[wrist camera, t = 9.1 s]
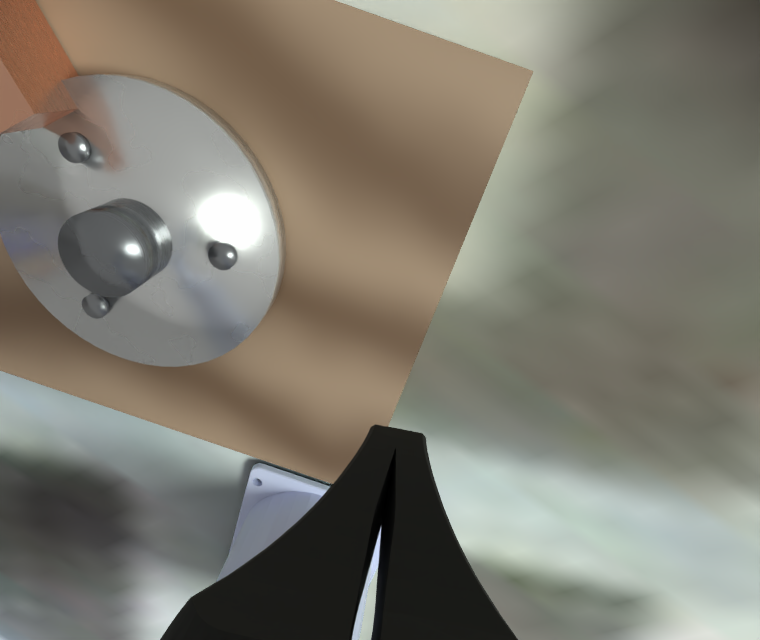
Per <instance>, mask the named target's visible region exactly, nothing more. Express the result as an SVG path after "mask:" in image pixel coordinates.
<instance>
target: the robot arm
mask: <svg viewBox="0 0 760 640" xmlns="http://www.w3.org/2000/svg"><path fill="white" fill-rule="evenodd" d="M257 479H260V480H261V481H259V480H257ZM377 568H378V577H377V591H376V604H375V615H374V624H373V632H372V638H371V640H518V639H517V638H516V636H515V635H514V633H513V632H512V631H511V629H510V628H509V626H508V625H507V624H506V622H505V621H504V619H503V618H502V617H501V615H500V614H499V612H498V610H497V609H496V607H495V606H494V604H493V602H492V601H491V599H490V598H489V596H488V595H487V593H486V591H485V590H484V588H483V587H482V585H481V583H480V582H479V580H478V578H477V577H476V575H475V573H474V571H473V569H472V568H471V566H470V564H469V562H468V560H467V558H466V556H465V554H464V552H463V550H462V548H461V546H460V544H459V542H458V540H457V538H456V536H455V534H454V531H453V529H452V527H451V524H450V522H449V519H448V517H447V515H446V512H445V509H444V507H443V504H442V501H441V498H440V495H439V492H438V489H437V486H436V483H435V480H434V477H433V473H432V469H431V465H430V461H429V457H428V452H427V445H426V438H425V436H424V435H423V434H422V433H418V432H412V431H407V430H402V429H397V428H392V427H387V426H381V425H376V424H375V425H373V426H372V427H370V430H369V432H368V434H367V436H366V438H365V440H364V442H363V443H362V445H361V447H360V448H359V450H358V451H357V453H356V454H355V456H354V457H353V459H352V460H351V461H350V463H349V464H348V465H347V467H346V468H345V469H344V471H343V472H342V474H341V475H340V476H339V477H338V479H337V480H336V481H335V482H334V483H333V484H332V486H331V487H330V486H327V485H324V484H321V483H318V482H315V481H312V480H309V479H306V478H303V477H301V476H298V475H295V474H292V473H289V472H286V471H283V470H280V469H277V468H274V467H271V466H268V465H265V464H261V463H258V464H255V465H254V466H253V467H252V469H251V471H250V474H249V478H248V482H247V486H246V490H245V494H244V497H243V501H242V505H241V509H240V513H239V517H238V520H237V524H236V528H235V532H234V536H233V540H232V543H231V547H230V551H229V555H228V557H227V559H226V561H225V564H224V566H223V568H222V570H221V572H220V574H219V576H218V578H217V581H216V583H214V584H212V585H211V586H209V587H208V588H206V589H204V590H203V591H201V592H199V593H198V594H196V595H194V596H192V597H191V598H190V599H189V600H188V602H187V603H186V604H185V605H184V607H183V608H182V609H181V610H180V612H179V613H178V614H177V616H176V617H175V619H174V620H173V621H172V623H171V624H170V626H169V627H168V629H167V630H166V632H165V633H164V635H163V636H162V638H161V639H160V640H359V638H360V632H361V627H362V621H363V615H364V609H365V604H366V598H367V592H368V587H369V584H370V582H371V580H372V578H373V576H374V574H375V572H376V570H377Z"/></svg>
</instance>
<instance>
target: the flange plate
mask: <svg viewBox="0 0 760 640" xmlns="http://www.w3.org/2000/svg"><path fill="white" fill-rule="evenodd" d="M0 134H1V136H0V235H1V238H2V240H3V243H4V245H5V248H6V250H7V252H8V254H9V256H10V258H11V260H12V262H13V264H14V266H15V268H16V270H17V271H18V273H19V274H20V276H21V277H22V279H23V280H24V282H25V284H26V285H27V286H28V288H29V289H30V290H31V291H32V293H33V294H34V295H35V297H36V298H37V299H38V300H39V301H40V302H41V303H42V304H43V306H44V307H45V308H46V309H47V310H48V311H49V312H50V313H51V314H52V315H53V316H54V317H56V318H57V319H58V320H59V321H60V322H61V323H62V324H63V325H65V326H66V327H67V328H68V329H70V330H71V331H73V332H74V333H75V334H77V335H78V336H79V337H81V338H82V339H84V340H86V341H88V342H89V343H91V344H93V345H94V346H96V347H98V348H100V349H102V350H104V351H106V352H108V353H110V354H113V355H115V356H118V357H121V358H124V359H127V360H130V361H134V362H138V363H142V364H147V365H154V366H163V367H179V366H188V365H195V364H199V363H203V362H207V361H210V360H212V359H215V358H217V357H220V356H222V355H224V354H225V353H227V352H229V351H230V350H232V349H234V348H235V347H237V346H238V345H239V344H240V343H241V342H243V341H244V340H245V339H246V338H247V337H248V336H249V335H250V334H251V333H252V331H253V330H254V329H255V328H256V327H257V326H258V324H259V323H260V322H261V320H262V319H263V318H264V317H265V315H266V314H267V312H268V310H269V309H270V307H271V306H272V304H273V302H274V300H275V298H276V296H277V293H278V291H279V289H280V285H281V281H282V278H283V274H284V268H285V259H286V236H285V229H284V222H283V217H282V213H281V209H280V206H279V202H278V199H277V196H276V194H275V191H274V189H273V187H272V184H271V182H270V179H269V177H268V176H267V174H266V172H265V170H264V168H263V167H262V165H261V163H260V161H259V160H258V158H257V157H256V155H255V154H254V153H253V151H252V150H251V148H250V147H249V146H248V144H247V143H246V142H245V140H244V139H243V138H242V137H241V136H240V135H239V134H238V133H237V132H236V130H235V129H234V128H233V127H232V126H231V125H230V124H229V123H228V122H226V121H225V120H224V119H223V118H222V117H221V116H220V115H219V114H217V113H216V112H215V111H214V110H213V109H211V108H210V107H208V106H207V105H205V104H204V103H202V102H201V101H200V100H198V99H197V98H195V97H193V96H191V95H189V94H188V93H186V92H184V91H182V90H180V89H178V88H176V87H173V86H171V85H168V84H165V83H163V82H160V81H157V80H154V79H149V78H145V77H140V76H136V75H123V74H97V75H85V76H79V75H78V74H77V72H76V70H75V68H74V67H73V65H72V63H71V61H70V60H69V58H68V56H67V55H66V53H65V51H64V49H63V48H62V46H61V44H60V42H59V41H58V39H57V37H56V35H55V34H54V32H53V30H52V29H51V27H50V25H49V23H48V22H47V20H46V18H45V16H44V15H43V13H42V11H41V10H40V8H39V6H38V4H37V3H36V1H35V0H0Z"/></svg>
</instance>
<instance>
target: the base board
mask: <svg viewBox="0 0 760 640" xmlns="http://www.w3.org/2000/svg"><path fill="white" fill-rule="evenodd" d="M35 1H36V3H37V4H38V6H39V8H40V10H41V11H42V13H43V15H44V16H45V18H46V20H47V22H48V23H49V25H50V27H51V29H52V30H53V32H54V34H55V35H56V37H57V39H58V41H59V42H60V44H61V46H62V48H63V49H64V51H65V53H66V55H67V56H68V58H69V60H70V61H71V63H72V65H73V67H74V68H75V70H76V72H77V74H78V75H79V76H85V75H97V74H123V75H136V76H140V77H145V78H149V79H154V80H157V81H160V82H163V83H165V84H168V85H171V86H173V87H176V88H178V89H180V90H182V91H184V92H186V93H188V94H189V95H191V96H193V97H195V98H197V99H198V100H200V101H201V102H202V103H204V104H205V105H207V106H208V107H210V108H211V109H213V110H214V111H215V112H216V113H217V114H219V115H220V116H221V117H222V118H223V119H224V120H225V121H226V122H228V123H229V124H230V125H231V126H232V127H233V128H234V129H235V130H236V132H237V133H238V134H239V135H240V136H241V137H242V138H243V139H244V140H245V142H246V143H247V144H248V146H249V147H250V148H251V150H252V151H253V153H254V154H255V155H256V157H257V158H258V160H259V161H260V163H261V165H262V167H263V168H264V170H265V172H266V174H267V176H268V177H269V179H270V182H271V184H272V187H273V189H274V191H275V194H276V196H277V199H278V202H279V206H280V209H281V213H282V217H283V222H284V229H285V236H286V259H285V268H284V274H283V278H282V281H281V285H280V289H279V291H278V293H277V296H276V298H275V300H274V302H273V304H272V306H271V307H270V309H269V310H268V312H267V314H266V315H265V317H264V318H263V319H262V320H261V322H260V323H259V324H258V326H257V327H256V328H255V329H254V330H253V331H252V333H251V334H250V335H249V336H248V337H247V338H246V339H245V340H244V341H243V342H241V343H240V344H239V345H238V346H237V347H235V348H234V349H232V350H230V351H229V352H227V353H225V354H224V355H222V356H220V357H217V358H215V359H212V360H210V361H207V362H203V363H199V364H195V365H188V366H179V367H163V366H154V365H147V364H142V363H138V362H134V361H130V360H127V359H124V358H121V357H118V356H115V355H113V354H110V353H108V352H106V351H104V350H102V349H100V348H98V347H96V346H94V345H93V344H91V343H89V342H88V341H86V340H84V339H82V338H81V337H79V336H78V335H77V334H75V333H74V332H73V331H71V330H70V329H68V328H67V327H66V326H65V325H63V324H62V323H61V322H60V321H59V320H58V319H57V318H56V317H54V316H53V315H52V314H51V313H50V312H49V311H48V310H47V309H46V308H45V307H44V306H43V304H42V303H41V302H40V301H39V300H38V299H37V298H36V297H35V295H34V294H33V293H32V291H31V290H30V289H29V288H28V286H27V285H26V284H25V282H24V280H23V279H22V277H21V276H20V274H19V273H18V271H17V270H16V268H15V266H14V264H13V262H12V260H11V258H10V256H9V254H8V252H7V250H6V248H5V245H4V243H3V240H2V238H1V235H0V371H3V372H6V373H9V374H12V375H15V376H18V377H21V378H24V379H27V380H30V381H33V382H36V383H38V384H41V385H44V386H47V387H50V388H53V389H56V390H59V391H62V392H65V393H68V394H71V395H74V396H77V397H80V398H82V399H85V400H88V401H91V402H94V403H97V404H100V405H103V406H106V407H109V408H112V409H115V410H118V411H121V412H123V413H126V414H129V415H132V416H135V417H138V418H141V419H144V420H147V421H150V422H153V423H156V424H159V425H162V426H164V427H167V428H170V429H173V430H176V431H179V432H182V433H185V434H188V435H191V436H194V437H197V438H200V439H203V440H206V441H208V442H211V443H214V444H217V445H220V446H223V447H226V448H229V449H232V450H235V451H238V452H241V453H244V454H247V455H249V456H252V457H255V458H258V459H261V460H264V461H267V462H270V463H273V464H276V465H279V466H282V467H285V468H288V469H290V470H293V471H296V472H299V473H302V474H305V475H308V476H311V477H314V478H317V479H320V480H323V481H326V482H329V483H332V484H333V483H334V482H335V481H336V480H337V479H338V477H339V476H340V475H341V474H342V472H343V471H344V469H345V468H346V467H347V465H348V464H349V463H350V461H351V460H352V459H353V457H354V456H355V454H356V453H357V451H358V450H359V448H360V447H361V445H362V443H363V442H364V440H365V438H366V436H367V434H368V432H369V430H370V427H372V426H373V425H375V424H376V425H381V426H387V427H388V425H389V423H390V420H391V418H392V415H393V413H394V410H395V408H396V406H397V403H398V401H399V398H400V396H401V393H402V391H403V388H404V386H405V384H406V381H407V379H408V376H409V374H410V371H411V369H412V367H413V364H414V362H415V359H416V357H417V354H418V352H419V349H420V347H421V345H422V342H423V340H424V337H425V335H426V332H427V330H428V327H429V325H430V323H431V320H432V318H433V315H434V313H435V310H436V308H437V305H438V303H439V301H440V298H441V296H442V293H443V291H444V288H445V286H446V284H447V281H448V279H449V276H450V274H451V271H452V269H453V266H454V264H455V262H456V259H457V257H458V254H459V252H460V249H461V247H462V244H463V242H464V240H465V237H466V235H467V232H468V230H469V227H470V225H471V222H472V220H473V218H474V215H475V213H476V210H477V208H478V205H479V203H480V201H481V198H482V196H483V193H484V191H485V188H486V186H487V183H488V181H489V179H490V176H491V174H492V171H493V169H494V166H495V164H496V161H497V159H498V157H499V154H500V152H501V149H502V147H503V144H504V142H505V139H506V137H507V135H508V132H509V130H510V127H511V125H512V122H513V120H514V118H515V115H516V113H517V110H518V108H519V105H520V103H521V100H522V98H523V96H524V93H525V91H526V88H527V86H528V83H529V81H530V78H531V76H532V74H533V71H531V70H528V69H526V68H523V67H520V66H517V65H514V64H512V63H509V62H506V61H503V60H500V59H498V58H495V57H492V56H489V55H486V54H483V53H481V52H478V51H475V50H472V49H469V48H467V47H464V46H461V45H458V44H455V43H453V42H450V41H447V40H444V39H441V38H439V37H436V36H433V35H430V34H427V33H425V32H422V31H419V30H416V29H413V28H410V27H408V26H405V25H402V24H399V23H396V22H394V21H391V20H388V19H385V18H382V17H380V16H377V15H374V14H371V13H368V12H366V11H363V10H360V9H357V8H354V7H351V6H349V5H346V4H343V3H340V2H337V1H335V0H35ZM0 136H1V134H0Z"/></svg>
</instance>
